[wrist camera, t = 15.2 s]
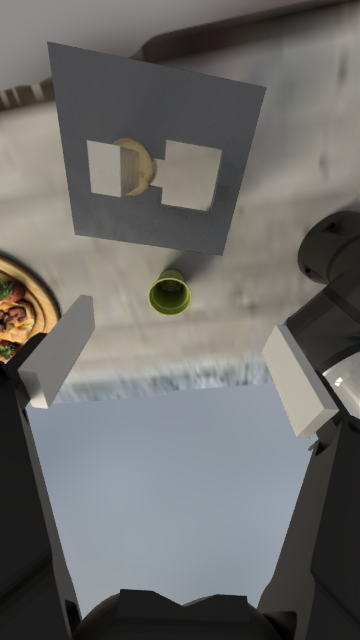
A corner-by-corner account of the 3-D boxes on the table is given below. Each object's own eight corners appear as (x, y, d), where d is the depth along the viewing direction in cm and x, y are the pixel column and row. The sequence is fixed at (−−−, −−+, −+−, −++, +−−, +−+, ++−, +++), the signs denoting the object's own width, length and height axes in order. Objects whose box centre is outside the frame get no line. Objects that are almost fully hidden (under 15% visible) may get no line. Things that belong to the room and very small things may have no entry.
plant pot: (151, 261, 50) (146, 277, 43) (191, 262, 50) (193, 278, 43) (153, 296, 55) (148, 315, 48) (189, 297, 56) (190, 316, 49)
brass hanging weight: (160, 147, 32) (140, 131, 16) (157, 191, 35) (138, 213, 19) (122, 141, 31) (63, 117, 16) (123, 185, 35) (74, 203, 19)
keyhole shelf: (235, 115, 35) (266, 87, 22) (210, 229, 46) (222, 255, 33) (99, 88, 33) (47, 41, 21) (106, 213, 44) (75, 234, 31)
